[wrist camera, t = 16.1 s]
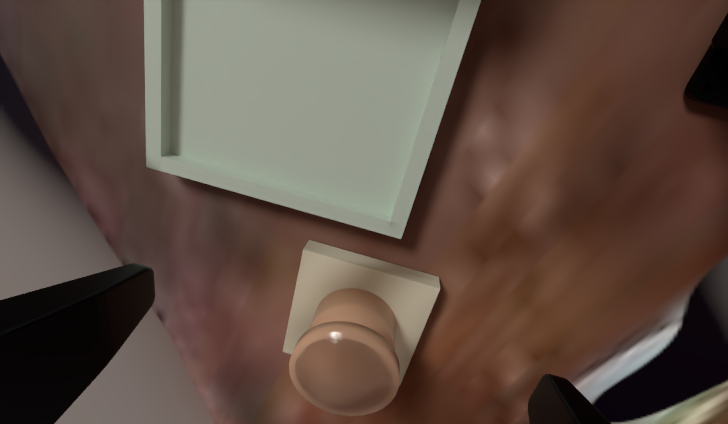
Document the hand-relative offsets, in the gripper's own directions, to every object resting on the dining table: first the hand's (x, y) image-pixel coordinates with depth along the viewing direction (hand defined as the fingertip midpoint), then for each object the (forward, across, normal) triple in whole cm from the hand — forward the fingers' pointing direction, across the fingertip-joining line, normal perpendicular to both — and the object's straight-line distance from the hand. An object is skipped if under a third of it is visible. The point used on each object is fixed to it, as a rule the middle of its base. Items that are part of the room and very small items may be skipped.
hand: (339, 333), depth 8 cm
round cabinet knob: (+10, 0, +9) cm, 14 cm away
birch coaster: (+12, 0, +9) cm, 15 cm away
